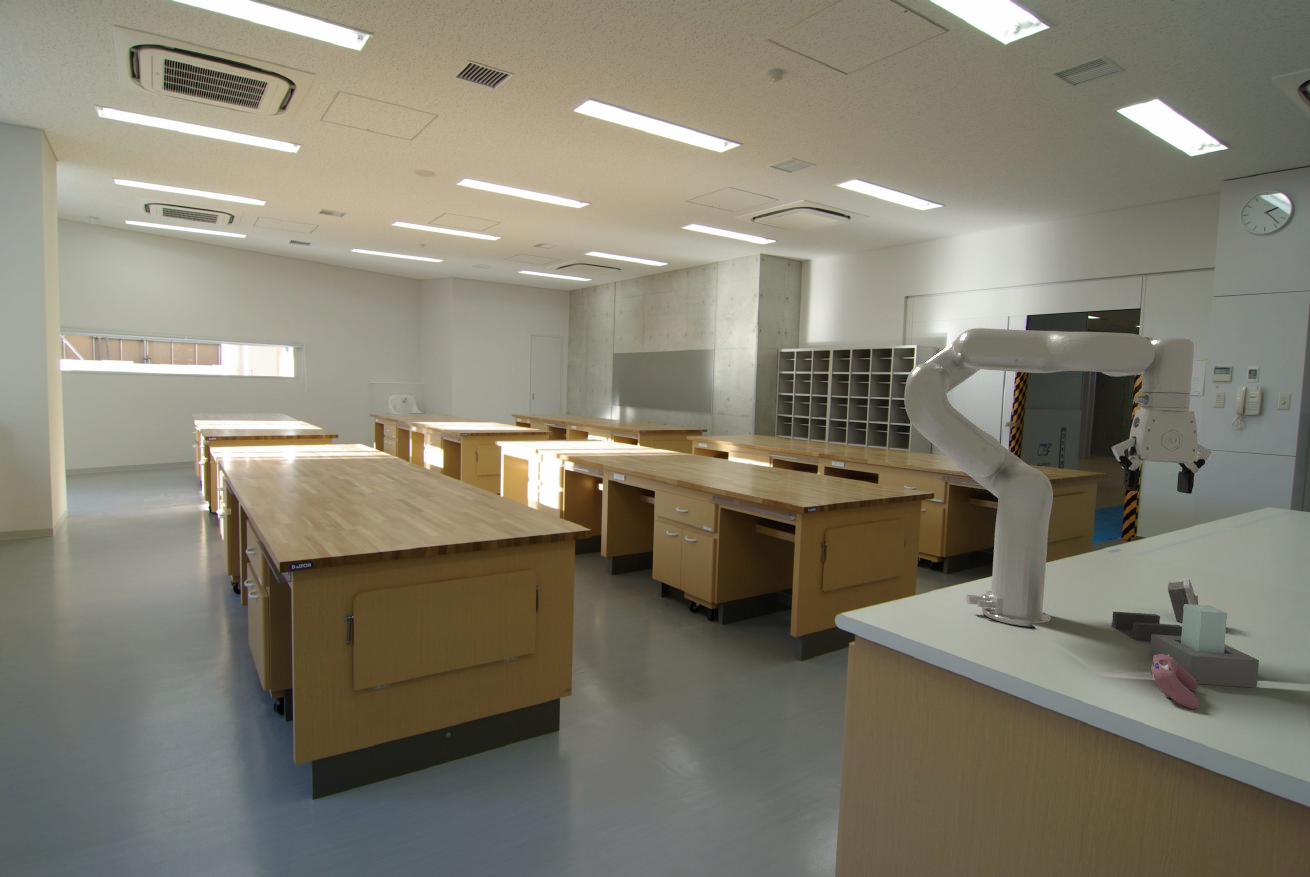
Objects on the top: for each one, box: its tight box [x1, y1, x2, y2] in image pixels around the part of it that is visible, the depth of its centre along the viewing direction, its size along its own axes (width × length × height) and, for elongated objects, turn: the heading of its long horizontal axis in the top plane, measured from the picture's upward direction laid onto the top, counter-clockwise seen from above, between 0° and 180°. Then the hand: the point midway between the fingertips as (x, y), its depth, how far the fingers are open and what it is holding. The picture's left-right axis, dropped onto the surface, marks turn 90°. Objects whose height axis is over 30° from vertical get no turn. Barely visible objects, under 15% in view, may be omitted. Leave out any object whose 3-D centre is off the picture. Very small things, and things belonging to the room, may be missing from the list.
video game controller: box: [1150, 654, 1200, 710], centre depth 102 cm, size 10×5×7 cm, turn 141°
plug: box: [1181, 604, 1228, 653], centre depth 111 cm, size 4×4×10 cm
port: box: [1149, 634, 1260, 689], centre depth 111 cm, size 10×10×5 cm
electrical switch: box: [1167, 577, 1199, 624], centre depth 138 cm, size 9×5×9 cm, turn 141°
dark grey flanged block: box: [1111, 611, 1182, 643], centre depth 127 cm, size 8×8×4 cm
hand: (1157, 491), depth 128 cm, fingers open, 9 cm apart
